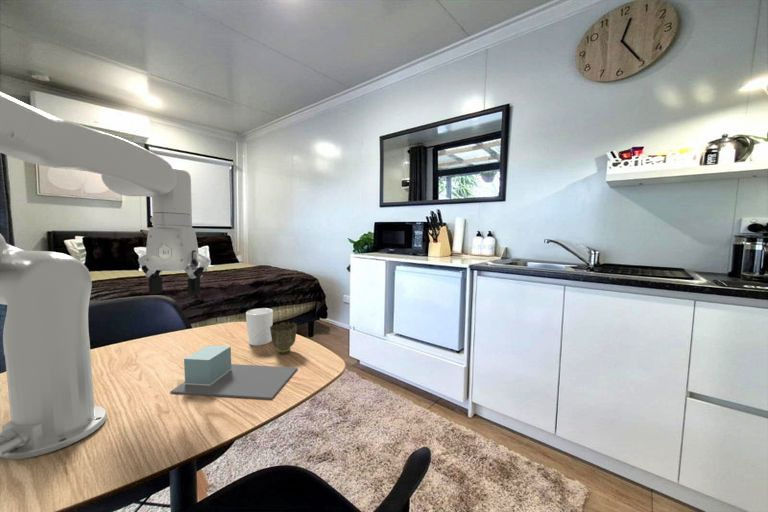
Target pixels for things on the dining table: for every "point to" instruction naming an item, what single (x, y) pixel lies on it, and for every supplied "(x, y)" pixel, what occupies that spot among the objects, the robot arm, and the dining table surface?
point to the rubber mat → (244, 382)
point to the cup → (283, 336)
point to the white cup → (259, 326)
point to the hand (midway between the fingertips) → (174, 294)
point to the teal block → (207, 365)
